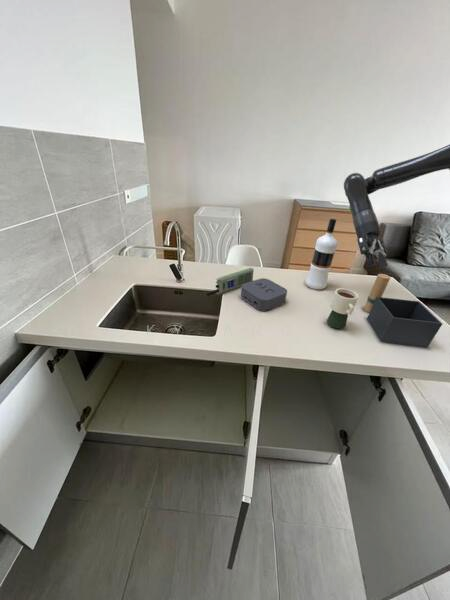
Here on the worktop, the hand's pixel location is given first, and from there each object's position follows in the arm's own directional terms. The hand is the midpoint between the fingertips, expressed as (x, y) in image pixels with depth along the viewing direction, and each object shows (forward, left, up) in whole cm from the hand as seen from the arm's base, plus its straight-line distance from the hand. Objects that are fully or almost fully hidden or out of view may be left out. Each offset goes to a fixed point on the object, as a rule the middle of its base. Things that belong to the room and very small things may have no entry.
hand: (378, 266), depth 86 cm
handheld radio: (+53, -5, -19) cm, 56 cm away
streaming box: (+39, +1, -19) cm, 43 cm away
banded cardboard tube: (-3, 0, -19) cm, 19 cm away
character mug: (+13, +13, -19) cm, 26 cm away
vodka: (+15, -17, -19) cm, 29 cm away
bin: (-7, +13, -19) cm, 24 cm away
